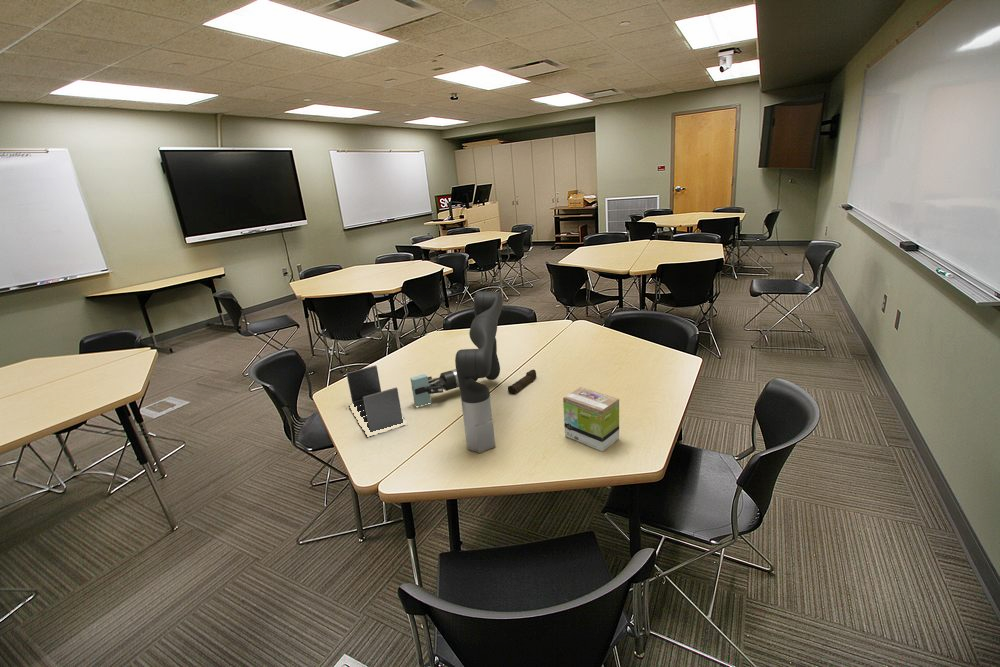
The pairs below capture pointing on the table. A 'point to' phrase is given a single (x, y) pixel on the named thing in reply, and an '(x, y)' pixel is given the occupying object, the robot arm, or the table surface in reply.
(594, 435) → the tea box
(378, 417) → the rack
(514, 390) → the hand tool
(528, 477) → the table surface
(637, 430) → the table surface
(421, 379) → the tall pale blue pillar
